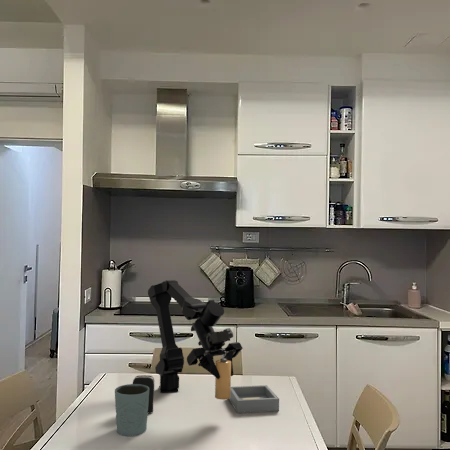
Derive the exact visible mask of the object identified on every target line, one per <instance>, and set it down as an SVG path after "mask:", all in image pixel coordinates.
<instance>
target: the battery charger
mask: <svg viewBox="0 0 450 450" xmlns="http://www.w3.org/2000/svg"><path fill="white" fill-rule="evenodd" d="M132 384H141V385H146V386H148V387H149V402H148V411H147V412H148V414H152V413H154V401H155V400H154V399H155V378H154V377H153V375H136V376H135V377H134V379H132Z"/></svg>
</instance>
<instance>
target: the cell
mask: <svg viewBox="0 0 450 450" xmlns="http://www.w3.org/2000/svg"><path fill="white" fill-rule="evenodd" d="M215 365H216V367H217V370H218V372H219V375H220V378H219V379H217V378H216V377H215V376H214V377H215V381H214V382H215V384H214V386H215V387H214V390H215V391H214V398H215V399H217V400H223V401H224V400H229V398H230V390H231V387H232V386H231V385H232V383H231V381H232V380H231V379H232V376H231V361H229V360H227V359H225V358H222V357H221V358H220V359H217V360H215Z"/></svg>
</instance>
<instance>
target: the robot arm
mask: <svg viewBox="0 0 450 450" xmlns="http://www.w3.org/2000/svg"><path fill="white" fill-rule="evenodd" d="M147 295H148V297H149V302H150V304H151V305H152V306H153V307H154V309H155V310H156V312H155V313H156V317H157V323H158V328H159V334H160V340H161V346H162V347H161V350H160V352H159V361H158V363H156V365H155V366H154V367H155V369H154V370H155V374H157V375H159V386H158V388H159V392H160V393H176V392H179V388H180V376H179V373H183V369H184V365H185V357H184V353H183V348H182V347H179V346H178V345H177V344H176V338H175V334H174V328H173V323H172V317H171V310H170V304H171V302H172V299H174V301H175V302H177V304H178V305H179V306H180V307H181V314H183V316H184V317H185V319H186V320H187V321H193V320H195V321H194V322H192V324H191V327H190V332H195V333H196V336H197V338H198V342H197V345H198V346H201V347H196V348H192V349H191V351H190V352H189V354H188V355H187V357H186V363H187V364H188V366H194V365H195V366H196V365H197V366H198V367H202V368H203V369H204V370H206V371H208V373H210V374H211V375H212V376H213V377H216V378H217V379H219V378H220V375H219V372H218V370H217V367H216V362H215V361H214V360H215V359H214V357H218V356H221V358H225V359H227V360H229V361H231V377H233V376H234V367H233V359H234V358H236V357H237V355H239V354H240V353H241V351H242V349H244V348H243V346H242V344H241V342H239V341H236V342H229V341H231V339H233V338H234V333H233V331H232V329H231V327H228V328H225V329H223V330H221V331H215V330H214V326H216V325H217V324H218V322H219V321H220V320H221V318H222V317H223V316H224V314H225V309H224V307H223V306H222V305H221V304H219V303H218V302H216V301H215V300H214V299H208V301H207V302H206V303H205V302H203V301H202V300H201V299H198V298H195V297H193V296H191V295H190V294H189V293H188V292H187V291H186V290H185V289H184V288H183V287H182V286H181V285H180V284H179V282H178V280H176V279H169V280H163V281H162V282H161V283H157V284H154V285H153V284H152V285H151V286H150V287H149V288H148V290H147ZM226 342H229V343H228V344H227V345H226ZM225 345H226V346H225ZM224 346H225V347H224ZM223 347H224V348H223Z"/></svg>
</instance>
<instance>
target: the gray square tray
mask: <svg viewBox="0 0 450 450" xmlns="http://www.w3.org/2000/svg"><path fill="white" fill-rule="evenodd" d="M228 400H229V402H230V403H231V404H232V406H233V408H234V410H235V411H236V413H237V414H243V413H244V414H247V413H260V412H261V413H264V412H278V411H279V412H280V398H279V396H278V395H277V394H275V392H274V391H273V390H272V389H271V388H270V387H269V386H268V385H267V384H263V385H243V386H242V385H241V386H240V385H239V386H231V390H230V398H229V399H228Z"/></svg>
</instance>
